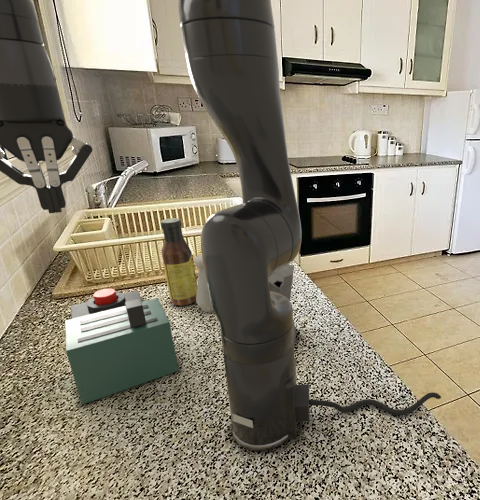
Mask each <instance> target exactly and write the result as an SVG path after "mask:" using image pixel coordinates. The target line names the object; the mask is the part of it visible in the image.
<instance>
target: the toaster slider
mask: <svg viewBox="0 0 480 500" xmlns="http://www.w3.org/2000/svg"><path fill="white" fill-rule="evenodd" d="M125 306H126V310H127V315H128V319H129V323H130V326H131V328H133V327H137V326H140V325H144V324H146V319H145V314H144V310H143V305H142V303H141V300H140V299H137V300H132V301H128V302H125Z"/></svg>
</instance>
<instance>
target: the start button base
mask: <svg viewBox="0 0 480 500" xmlns="http://www.w3.org/2000/svg"><path fill="white" fill-rule="evenodd" d="M115 292H116V296H117V300H116V301H114V302H112V303H110V304H106V305H96V304H95V300H94V296H93V297H91V298H90V299H89V300H87V301H86V302H82V303H77V304H73V305H70V317H71V318H70V319H73V318H77V317H81V316H85V315H90V314H94V313H98V312H102V311H106V310H110V309H114V308H118V307H122V306H125V302H128V301H132V300H137V299H140V300H141V302H143V300H142V297H141V295H140V293H139V290H134V291H129V292H125V293H122V292H119V291H115Z"/></svg>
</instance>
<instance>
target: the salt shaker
mask: <svg viewBox="0 0 480 500" xmlns="http://www.w3.org/2000/svg"><path fill="white" fill-rule="evenodd" d="M194 267H196V268H197V269H198V272H197V297H196V301H195V303H196V304H197V305H198V306H199V308H200V309H201V311H202V312H205V313H213V312H214V310H213V307H212V304H211V301H210V295H209V290H208V285H207V279H206V274H205V269H204V264H203V259H202V253H200V254H198V255H196V256H195V258H194Z"/></svg>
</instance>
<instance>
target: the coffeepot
mask: <svg viewBox="0 0 480 500" xmlns="http://www.w3.org/2000/svg"><path fill="white" fill-rule="evenodd" d="M294 269H295V265H292V264H291V263H289V264H288V265H286V266H285V267H283V268H282V269H280V270H278V271H277V272H275V273H273V274H272V275H270V276H268V279H269V289H270V291H273V292H277V293H280V294H282V295H284V296H286V297H287V298H288V299H289V301H290V302H291V297H292V296H291V295H292V288H293V279H294ZM295 325H296V324H295V320H294V319H293V332H294V343H296V342H295V341H296V335H297V329H296V326H295Z"/></svg>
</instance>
